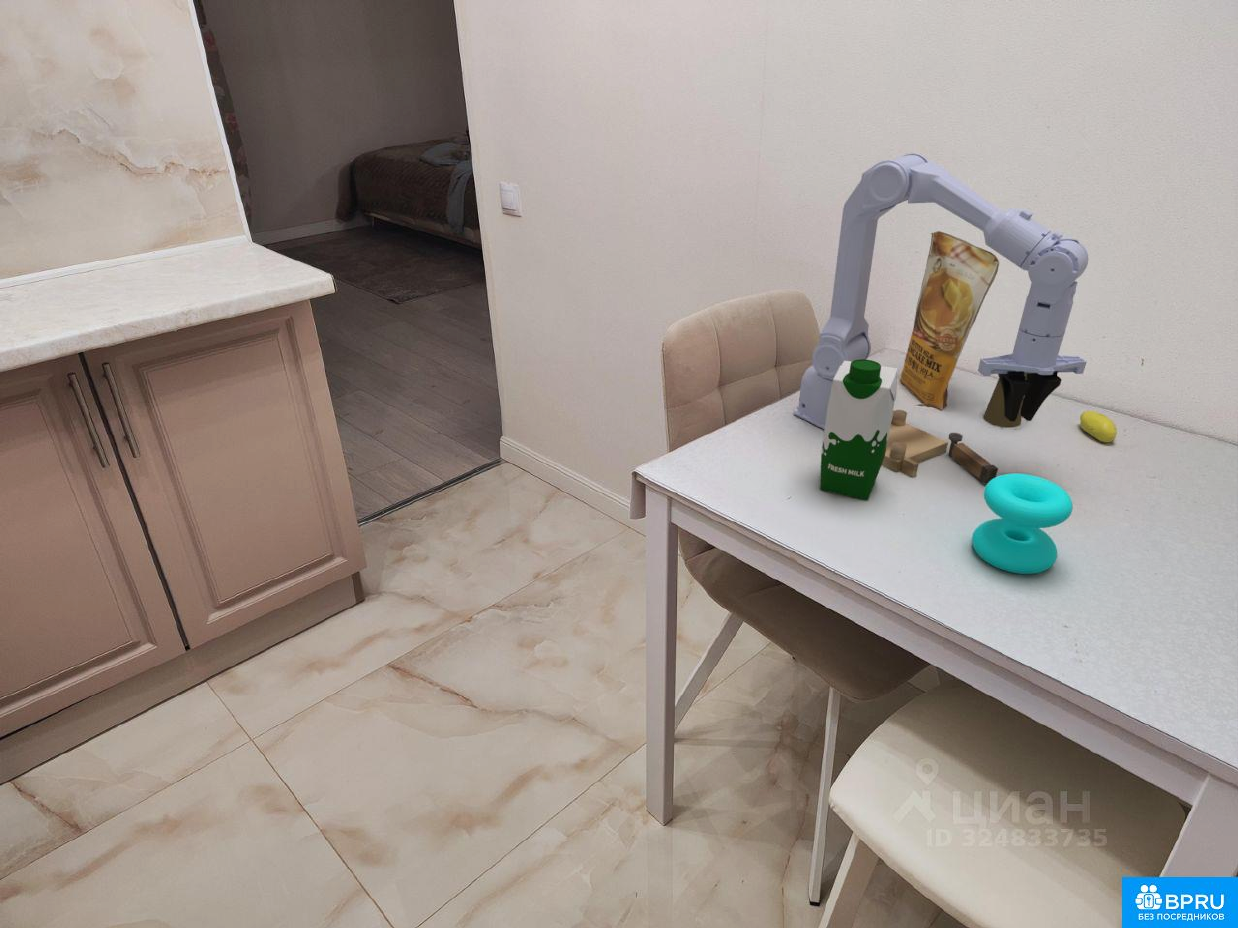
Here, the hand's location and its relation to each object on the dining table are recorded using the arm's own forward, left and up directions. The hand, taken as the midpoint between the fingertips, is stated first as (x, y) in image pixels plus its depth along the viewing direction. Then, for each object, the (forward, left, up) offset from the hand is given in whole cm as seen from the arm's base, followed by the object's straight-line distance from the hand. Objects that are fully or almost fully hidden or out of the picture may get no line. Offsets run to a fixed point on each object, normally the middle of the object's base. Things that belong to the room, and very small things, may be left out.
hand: (1017, 418), depth 116 cm
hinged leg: (-3, -4, -9) cm, 10 cm away
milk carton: (-11, -22, -10) cm, 26 cm away
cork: (-12, +17, -10) cm, 23 cm away
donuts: (+13, -18, -10) cm, 25 cm away
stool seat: (-13, -7, -9) cm, 18 cm away
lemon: (0, +25, -10) cm, 27 cm away
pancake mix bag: (-27, +16, -10) cm, 32 cm away
